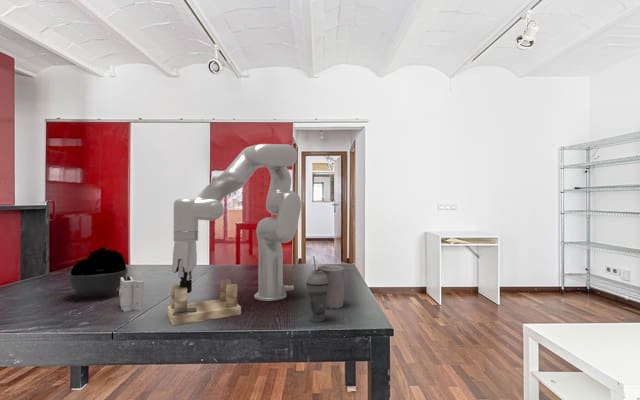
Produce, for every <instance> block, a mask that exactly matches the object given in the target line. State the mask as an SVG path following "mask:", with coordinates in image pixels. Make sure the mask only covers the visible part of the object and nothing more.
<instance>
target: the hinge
mask: <svg viewBox="0 0 640 400" xmlns="http://www.w3.org/2000/svg"><path fill="white" fill-rule="evenodd" d="M144 285H145V284H144V280H134V278H133V277H132V276H128V275H126V278H125V277H121V280H120V286H119V289H118V297H119V306H120V309H121V311H123V312H131V311H140V312H142V311H144V291H145V290H144Z"/></svg>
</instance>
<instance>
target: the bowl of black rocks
mask: <svg viewBox="0 0 640 400" xmlns="http://www.w3.org/2000/svg"><path fill="white" fill-rule="evenodd" d="M88 253H89V256H88V257H87V258H85V259H82V260H79V261H78V262H76V263H75V264H74V265H72V266H73V267H72V269H71V271H70V272H68V273H67V275H66V276H67V280H68V283H69V285H70V287H71V288H72V289H73V290H74V291H75V292H76V293H78V294H80V295H82V296H85V297H90V298H98V297H103V296H106V295H110V294H111V293H113V292H115V291H116V290H117V289H118V288H120V280H121V277H125V278H126V279H127V276H128V275H127V274H128V268H127V265H126V262H125V258H124V257H123V254H122V253H121V252H119V251H116V250H114V249H113V250H111V249H106V247H105V246H104V247H100V248H98V249H96V250H94V251H89V252H88Z"/></svg>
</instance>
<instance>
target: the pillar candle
mask: <svg viewBox="0 0 640 400" xmlns="http://www.w3.org/2000/svg"><path fill="white" fill-rule="evenodd" d="M344 269H345V267H343V266H340V265H332V264H331V263H330V264H326V265H320V266H318V267H317V270H321V271H323V272H324V273H325V274H326V275H327V278H328V282H329V284H328V289H327V296H326V308H329V309H328V310H334V309H333V308H337V309H340V307H341V308H343V307H342V306H344V294H345V293H344V290H345V289H344V288H345V286H344V282H345V281H344V278H345V277H344V276H345V275H344V274H345V270H344Z"/></svg>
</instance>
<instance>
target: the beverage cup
mask: <svg viewBox="0 0 640 400" xmlns="http://www.w3.org/2000/svg"><path fill="white" fill-rule="evenodd" d="M312 260H313V261H312V262H313V267H314V270H312V271H310V273H309V274H308V276H307V277H306V283H305V284H306V290H307V296H308V297H307V298H308V300H307V301H308V310H309V319H310V321H311V322H315V323H319V322H320V321H321V322H324V321H325V317H326V309H325V308H326V296H327V289H328V284H329V282H328V278H327V275H326V274H325V273H324V272H323V271H321V270H318V269H317V266H316V257H315V256H314V255H313V256H312ZM323 320H324V321H323ZM321 322H320V323H321Z"/></svg>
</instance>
